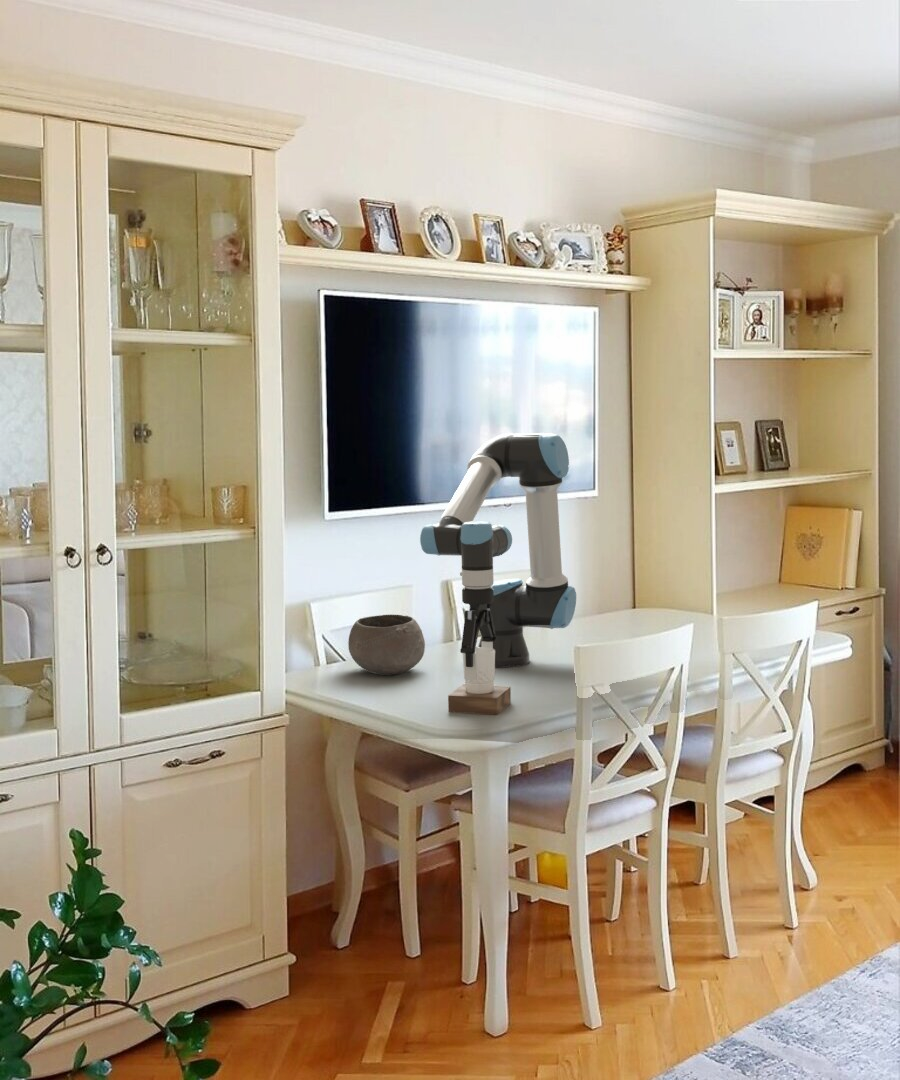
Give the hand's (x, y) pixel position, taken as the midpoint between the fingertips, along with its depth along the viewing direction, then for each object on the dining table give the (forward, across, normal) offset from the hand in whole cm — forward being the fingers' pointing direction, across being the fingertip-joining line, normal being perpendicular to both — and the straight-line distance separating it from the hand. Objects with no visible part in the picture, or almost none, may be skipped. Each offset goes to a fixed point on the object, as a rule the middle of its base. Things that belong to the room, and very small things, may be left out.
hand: (479, 673), depth 302 cm
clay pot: (+8, -31, -36) cm, 48 cm away
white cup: (+4, 0, 0) cm, 4 cm away
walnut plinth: (+8, 0, 0) cm, 8 cm away
